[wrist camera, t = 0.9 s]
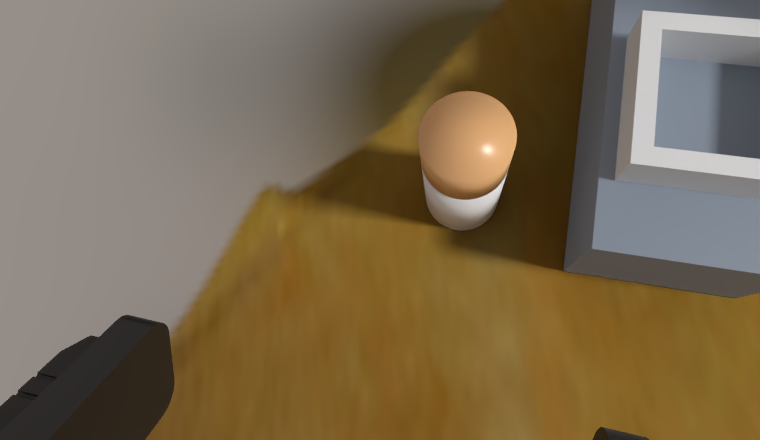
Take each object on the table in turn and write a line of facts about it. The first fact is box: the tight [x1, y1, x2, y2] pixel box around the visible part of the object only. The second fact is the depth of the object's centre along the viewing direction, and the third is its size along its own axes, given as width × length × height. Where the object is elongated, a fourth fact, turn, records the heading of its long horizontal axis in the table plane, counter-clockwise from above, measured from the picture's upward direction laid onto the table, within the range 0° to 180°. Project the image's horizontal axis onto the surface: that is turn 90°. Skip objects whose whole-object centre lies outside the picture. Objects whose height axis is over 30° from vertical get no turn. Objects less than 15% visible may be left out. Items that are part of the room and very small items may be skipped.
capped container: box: [418, 91, 517, 231], centre depth 31 cm, size 5×5×10 cm
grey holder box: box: [563, 0, 760, 298], centre depth 31 cm, size 10×20×10 cm, turn 169°
